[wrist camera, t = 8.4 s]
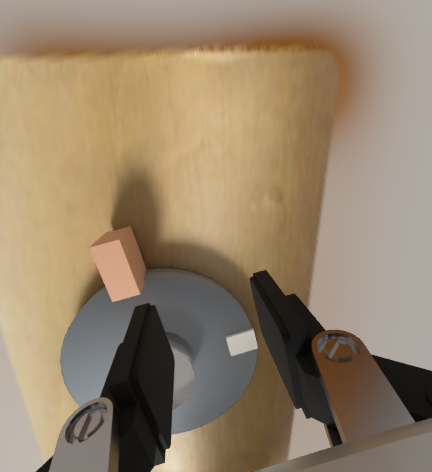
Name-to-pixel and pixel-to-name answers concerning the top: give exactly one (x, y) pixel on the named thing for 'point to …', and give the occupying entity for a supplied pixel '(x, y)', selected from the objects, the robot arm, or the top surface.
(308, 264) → the top surface
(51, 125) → the top surface
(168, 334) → the cover
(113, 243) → the turntable
